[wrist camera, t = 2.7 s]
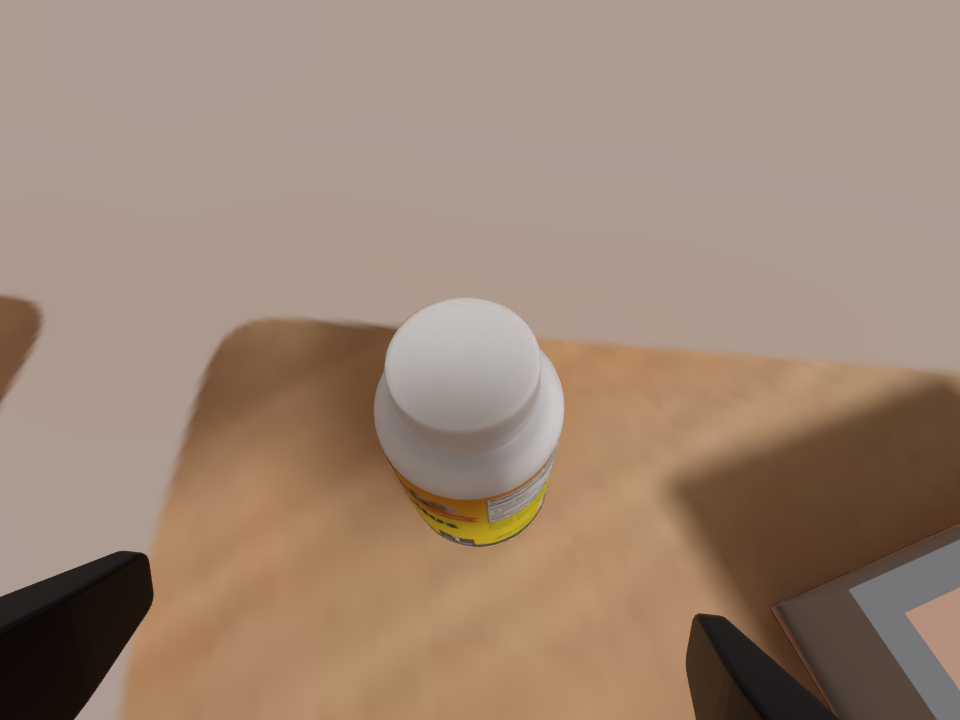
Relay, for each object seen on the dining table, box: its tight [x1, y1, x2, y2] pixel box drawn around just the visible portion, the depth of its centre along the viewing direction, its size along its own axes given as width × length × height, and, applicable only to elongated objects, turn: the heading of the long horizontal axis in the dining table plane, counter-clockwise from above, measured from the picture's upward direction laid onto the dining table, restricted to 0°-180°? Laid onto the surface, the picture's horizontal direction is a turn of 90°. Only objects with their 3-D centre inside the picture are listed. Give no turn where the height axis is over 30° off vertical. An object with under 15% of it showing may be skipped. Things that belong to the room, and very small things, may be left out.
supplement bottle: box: [374, 297, 564, 547], centre depth 17 cm, size 6×6×10 cm
